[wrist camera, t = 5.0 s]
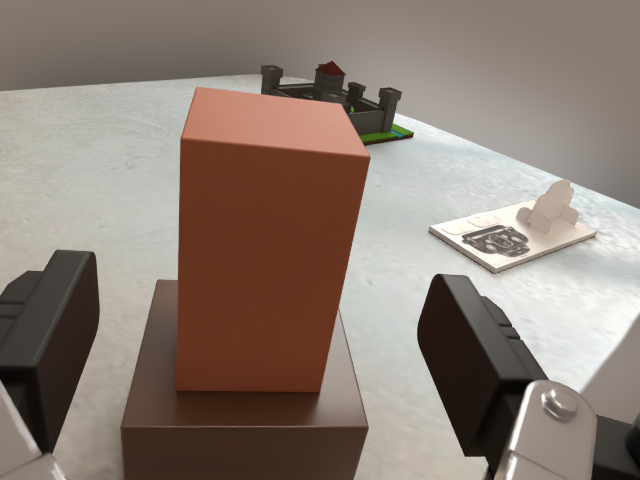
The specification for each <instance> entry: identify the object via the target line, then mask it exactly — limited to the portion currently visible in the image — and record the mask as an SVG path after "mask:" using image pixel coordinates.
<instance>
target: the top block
mask: <svg viewBox="0 0 640 480" xmlns="http://www.w3.org/2000/svg"><path fill="white" fill-rule="evenodd" d="M369 163H370V155H369V153H368V152H367V150H366V148H365V146H364V144H363V143H362V141H361V139H360V137H359V135H358V134H357V132H356V130H355V128H354V126H353V125H352V123H351V121H350V119H349V117H348V116H347V114H346V112H345V110H344V108H343V107H342V105H341V104H338V103H330V102H321V101H313V100H304V99H296V98H288V97H279V96H271V95H262V94H254V93H245V92H237V91H229V90H220V89H212V88H203V87H196V90H195V93H194V96H193V100H192V103H191V106H190V110H189V113H188V116H187V119H186V123H185V126H184V129H183V133H182V136H181V142H180V196H179V251H178V306H177V360H176V390H177V391H239V392H320V391H321V387H322V382H323V378H324V373H325V368H326V364H327V359H328V354H329V350H330V345H331V340H332V336H333V331H334V326H335V322H336V317H337V312H338V308H339V303H340V298H341V294H342V289H343V284H344V280H345V275H346V270H347V266H348V261H349V256H350V251H351V247H352V242H353V237H354V233H355V228H356V223H357V219H358V214H359V209H360V205H361V200H362V195H363V191H364V186H365V181H366V177H367V172H368V167H369Z"/></svg>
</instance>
